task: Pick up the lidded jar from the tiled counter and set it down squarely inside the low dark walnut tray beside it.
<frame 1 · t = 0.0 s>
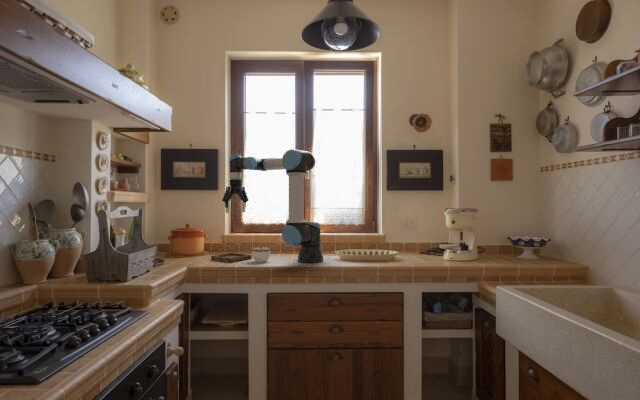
hand: (235, 212, 250), 28 cm above the worktop, fingers open, 13 cm apart
lidded jar: (261, 262, 230), on the worktop
walnut tray: (231, 259, 237), on the worktop
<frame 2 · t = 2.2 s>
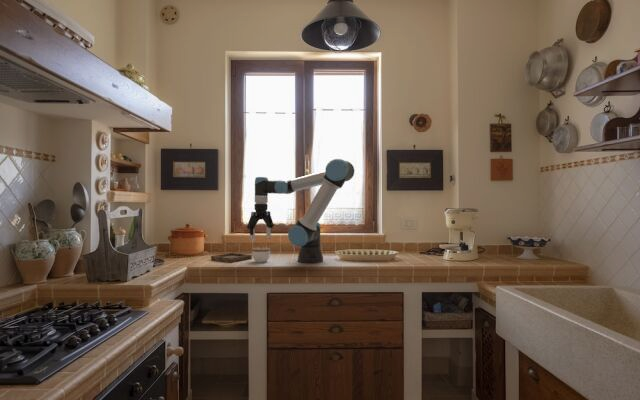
hand: (260, 239, 230), 13 cm above the worktop, fingers open, 13 cm apart
nothing on the worktop moved.
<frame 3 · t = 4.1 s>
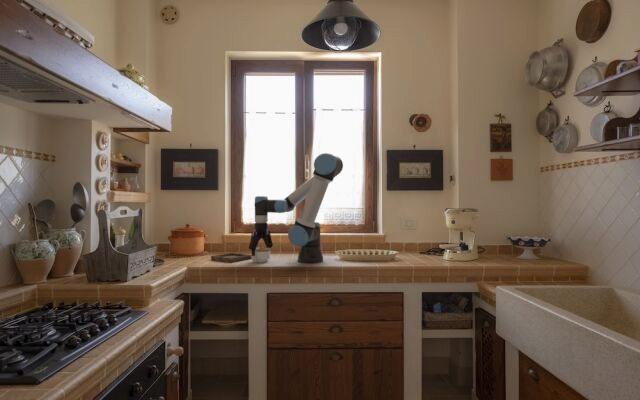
hand: (261, 260, 230), 1 cm above the worktop, fingers closed on lidded jar, 11 cm apart
lidded jar: (261, 262, 230), on the worktop, touching gripper
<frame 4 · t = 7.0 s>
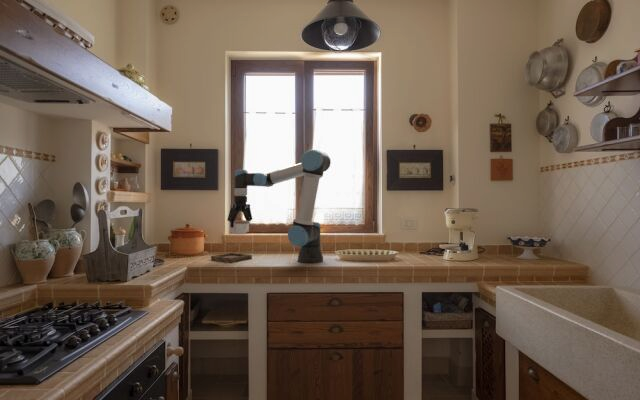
hand: (240, 232, 235), 17 cm above the worktop, fingers closed on lidded jar, 11 cm apart
lidded jar: (240, 234, 235), point 16 cm above the worktop, touching gripper
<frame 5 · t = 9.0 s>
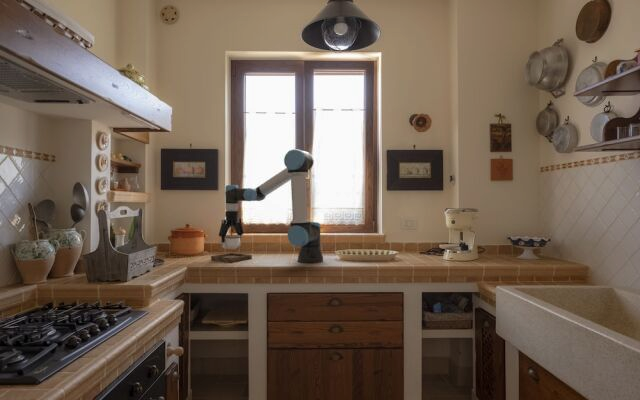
hand: (231, 246, 237), 8 cm above the worktop, fingers closed on lidded jar, 11 cm apart
lidded jar: (231, 248, 237), point 7 cm above the worktop, touching gripper
when the fingers open (4 cm above the worktop, at t = 10.2 s): lidded jar drops 2 cm, resting on walnut tray.
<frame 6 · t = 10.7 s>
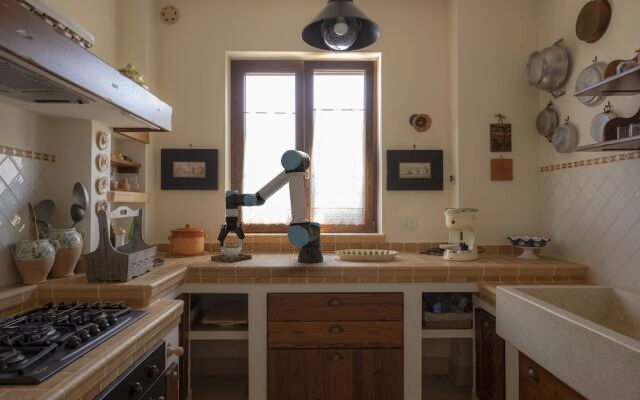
hand: (231, 251, 237), 5 cm above the worktop, fingers open, 13 cm apart
lidded jar: (231, 257, 237), point 1 cm above the worktop, touching walnut tray
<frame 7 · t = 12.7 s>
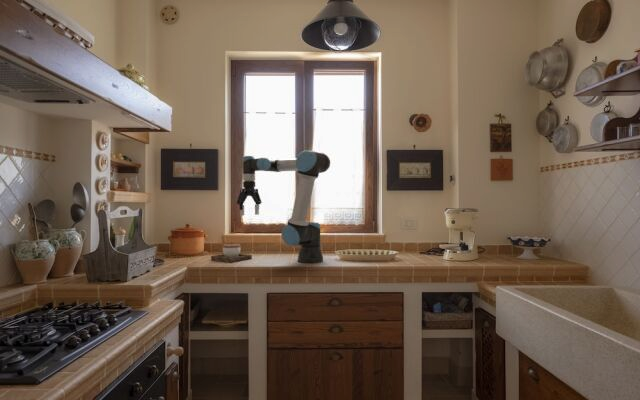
hand: (249, 215, 245), 27 cm above the worktop, fingers open, 13 cm apart
nothing on the worktop moved.
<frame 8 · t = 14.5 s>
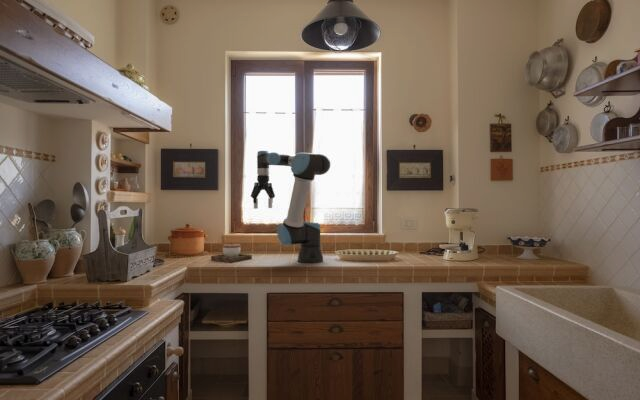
hand: (263, 208, 252), 31 cm above the worktop, fingers open, 13 cm apart
nothing on the worktop moved.
at the end: lidded jar 0.1 cm off-centre on the walnut tray, point 1.0 cm above the walnut tray's base; lidded jar tilted 0°; the gripper is holding nothing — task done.
